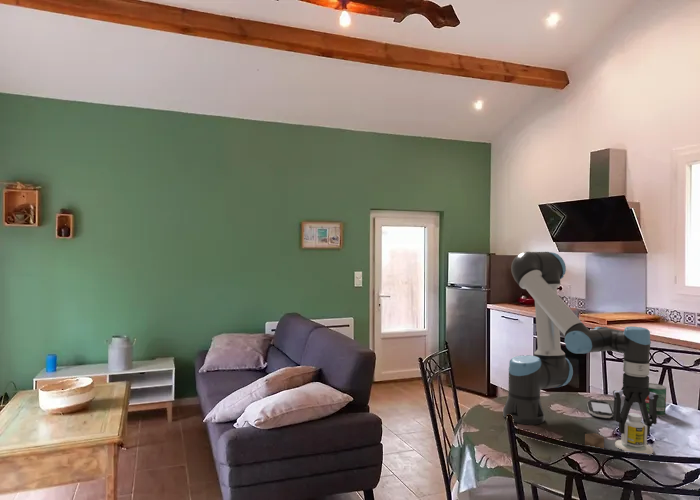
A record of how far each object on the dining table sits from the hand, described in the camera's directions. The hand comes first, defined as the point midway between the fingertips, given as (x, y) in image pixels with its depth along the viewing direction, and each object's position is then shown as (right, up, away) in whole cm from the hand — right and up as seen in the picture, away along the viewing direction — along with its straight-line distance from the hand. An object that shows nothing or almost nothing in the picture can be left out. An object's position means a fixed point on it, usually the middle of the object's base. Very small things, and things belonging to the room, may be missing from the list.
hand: (633, 443), depth 164 cm
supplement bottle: (0, -1, 0) cm, 1 cm away
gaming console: (+7, -2, +37) cm, 37 cm away
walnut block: (-13, -2, 0) cm, 13 cm away
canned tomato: (+29, -2, +36) cm, 46 cm away
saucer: (0, -2, 0) cm, 2 cm away
